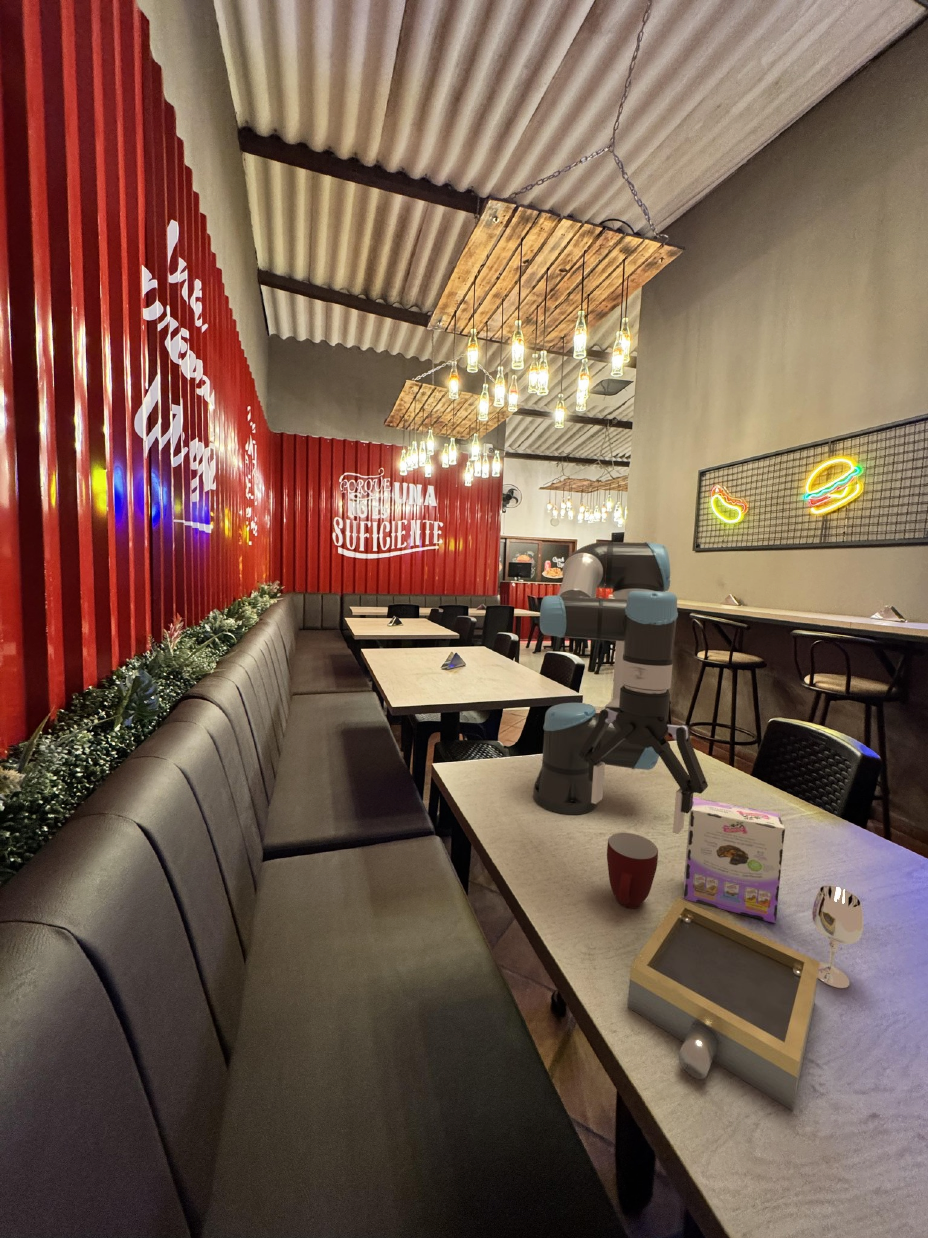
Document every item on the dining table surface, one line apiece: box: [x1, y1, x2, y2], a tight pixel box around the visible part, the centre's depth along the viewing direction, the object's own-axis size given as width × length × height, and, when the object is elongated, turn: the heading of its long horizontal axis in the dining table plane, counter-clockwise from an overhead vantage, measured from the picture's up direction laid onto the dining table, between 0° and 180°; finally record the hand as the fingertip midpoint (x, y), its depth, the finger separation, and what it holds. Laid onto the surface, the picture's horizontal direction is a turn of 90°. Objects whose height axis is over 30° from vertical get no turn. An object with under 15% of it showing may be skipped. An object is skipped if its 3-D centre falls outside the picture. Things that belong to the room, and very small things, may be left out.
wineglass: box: [811, 884, 865, 989], centre depth 70 cm, size 6×6×12 cm
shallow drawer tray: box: [627, 897, 821, 1112], centre depth 63 cm, size 18×22×6 cm
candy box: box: [682, 796, 786, 924], centre depth 84 cm, size 14×6×16 cm, turn 66°
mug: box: [606, 832, 659, 909], centre depth 83 cm, size 10×8×10 cm
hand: (635, 814), depth 81 cm, fingers open, 13 cm apart
